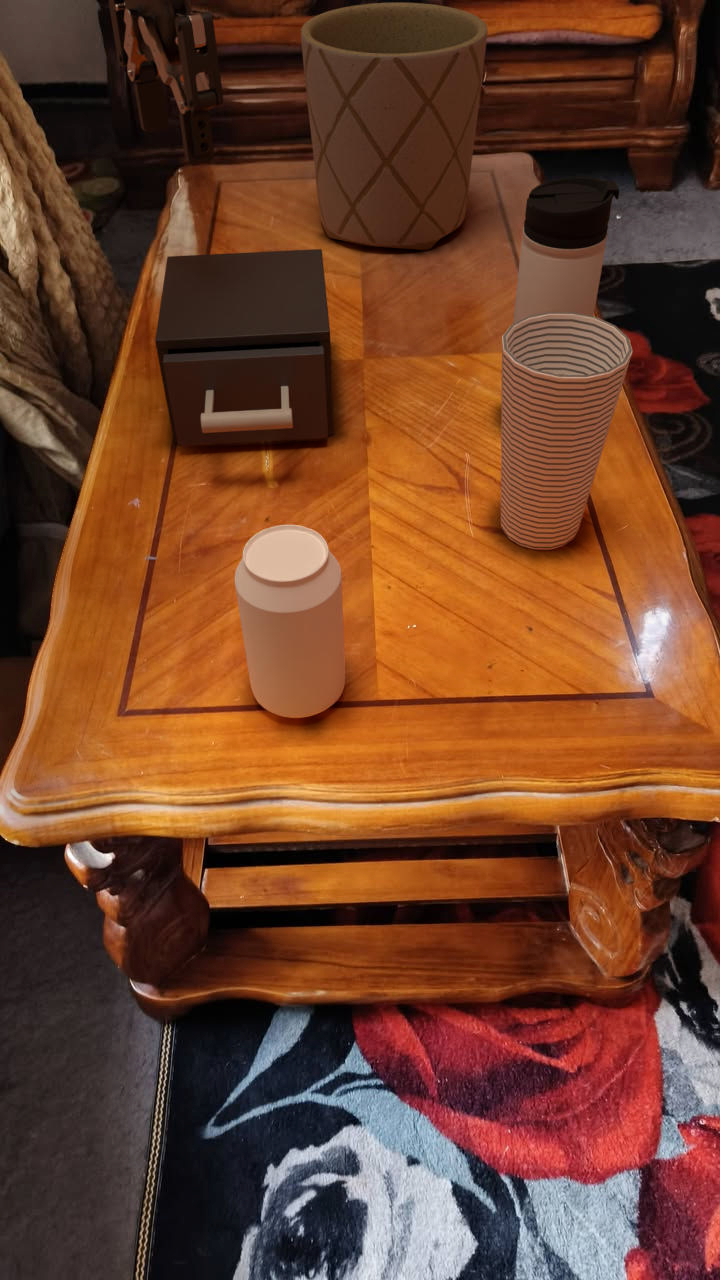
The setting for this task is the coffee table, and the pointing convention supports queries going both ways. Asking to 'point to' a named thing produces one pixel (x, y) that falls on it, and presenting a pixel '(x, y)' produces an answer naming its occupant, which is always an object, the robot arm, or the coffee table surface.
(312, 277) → the single drawer box
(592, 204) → the travel mug
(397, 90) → the planter
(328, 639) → the beverage can
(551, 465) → the cup
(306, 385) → the pull-out drawer
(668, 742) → the coffee table surface
